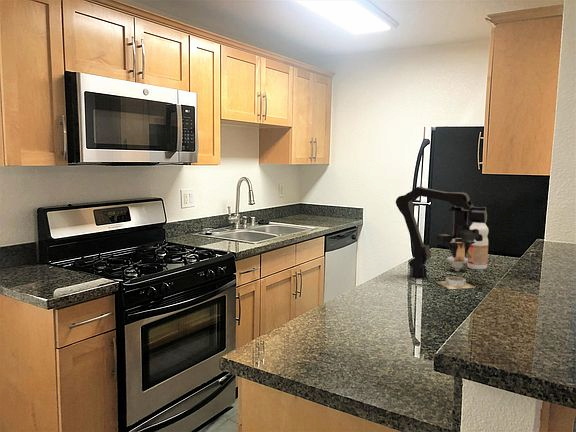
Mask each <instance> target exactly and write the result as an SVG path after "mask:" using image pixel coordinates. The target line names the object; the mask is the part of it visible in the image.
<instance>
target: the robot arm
mask: <svg viewBox="0 0 576 432" xmlns="http://www.w3.org/2000/svg"><path fill="white" fill-rule="evenodd" d="M420 197H425V198H429V199H434V200H440V201H444V202H446V203H449V204H450V205H452V207H450V208H448V211H449V212H453V222H452V223H451V226H452V227H453V228H452V229H453V230H452V232H451V233H450V234H447V233H440V234H439V233H438V235H437V236H436V240H437V242H441V243H444V244H446V245H447V246H448V249H449V251H450V254H451V256H453V257H454V258H455V255H456V245H457V243H456V242H457V241H461V242H464V243H465V258H467V257H466V256H467V255H468V250H469V248H470V246H471V245H472V244H473V243H475V242H474V239H475V240H476V241H483V236H482V235H481V234H479V230H478V229H473V230H470V226H471V225H470V224H468V223H469V222H468V221H470V222H471V223H472V224H473V223H485V224H486V223H487V222H488V221H487V220H488V212H487V207H486V206H481V207H480V206H474V204H473V203H472V202H471V200H470V199H471V198H470V196H469V194H468V193H466V192H464V191H462V192H459V191H457V192H455V191H454V192H453V191H452V192H450V191H443V190H438V189H432V188H427V187H424V186H416V187H415V188H414V189H412V190H411V191H409V192H407V193H405V194H404V195H399V196H398V197H397V198H396V200H395V205H396V207H397V209H398V211H399V212H400V213H401V214H402V216H403V218H404V221H405V224H406V228H407V231H408V234H409V236H410V239H411V242H412V245H413V246H412V247H413V248H412V249H413V250H412V253H413V258H412V259H411V260H410V261H409V262H408V264H409V277H411V279H424V278H427V273H428V272H427V266H426V265H427V262H428V261H430V259H431V257H432V256H431V254H432V251H431V250H430V245H429V244H427V245H426V244H425V242H424V241H423V238H422V235H421V232H420V229H419V227H418V223H417V221H416V217H415V214H414V201H416V200H417V199H419V198H420Z"/></svg>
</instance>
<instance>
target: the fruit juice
mask: <svg viewBox="0 0 576 432" xmlns="http://www.w3.org/2000/svg"><path fill="white" fill-rule="evenodd" d="M469 226H470V230H473V229H478V230H479V234H481V235H482V236H483V241H476V240H475V239H474V242H475V243H473V244H472V245H471V246H470V248H469V250H468V252H467V259H468V262H466V263H467V268H469V269H472V270H486V269H488V260H489V259H488V257H489V238H488V235H489V232H490V231H489V227H488V226H487V224H486V223H473V222H472V223H471V225H469Z"/></svg>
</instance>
